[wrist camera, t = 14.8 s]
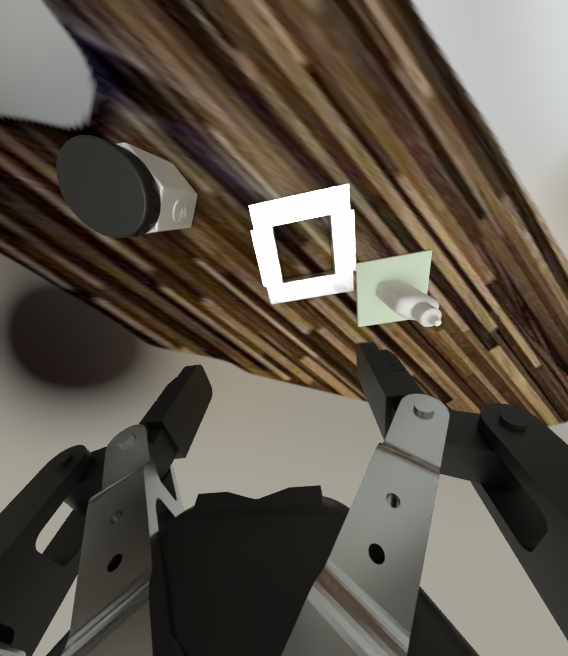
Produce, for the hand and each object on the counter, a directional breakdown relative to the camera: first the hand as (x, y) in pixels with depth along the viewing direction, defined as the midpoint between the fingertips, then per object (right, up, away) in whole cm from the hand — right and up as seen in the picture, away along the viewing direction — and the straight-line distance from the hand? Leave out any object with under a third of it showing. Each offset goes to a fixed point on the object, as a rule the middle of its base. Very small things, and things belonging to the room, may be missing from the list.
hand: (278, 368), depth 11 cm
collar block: (+3, +14, +22) cm, 26 cm away
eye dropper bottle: (+18, +8, +24) cm, 31 cm away
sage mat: (+18, +8, +25) cm, 31 cm away
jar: (-16, +20, +20) cm, 33 cm away
